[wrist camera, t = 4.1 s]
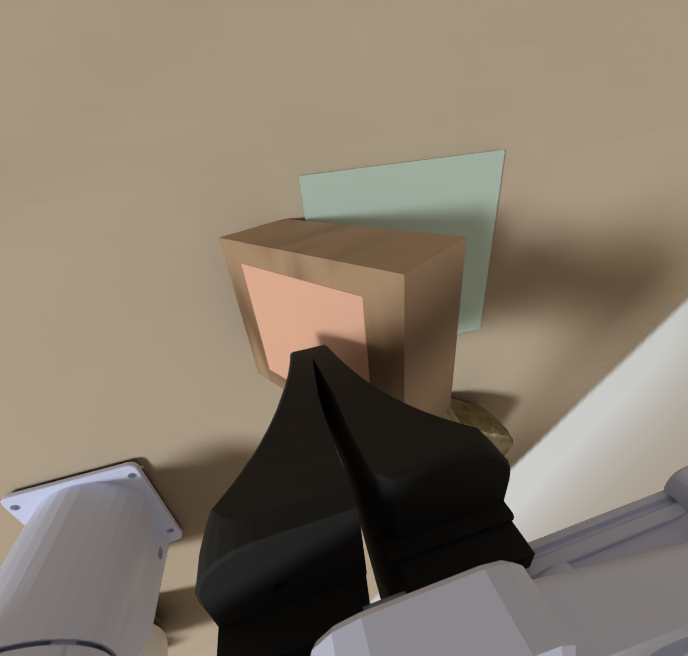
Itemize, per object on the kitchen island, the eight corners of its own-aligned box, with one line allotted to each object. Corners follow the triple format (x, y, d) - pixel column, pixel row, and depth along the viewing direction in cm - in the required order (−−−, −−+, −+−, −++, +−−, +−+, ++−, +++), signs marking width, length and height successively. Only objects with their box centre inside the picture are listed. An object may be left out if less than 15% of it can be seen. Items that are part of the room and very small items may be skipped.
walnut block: (308, 342, 21) (450, 405, 15) (258, 373, 19) (403, 464, 13) (285, 218, 17) (466, 236, 11) (217, 237, 15) (403, 275, 9)
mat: (477, 327, 24) (480, 329, 24) (326, 363, 22) (327, 365, 22) (501, 149, 18) (505, 149, 18) (298, 175, 16) (298, 175, 16)
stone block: (483, 398, 29) (523, 440, 25) (424, 483, 33) (450, 531, 29) (434, 389, 27) (469, 433, 23) (377, 481, 31) (398, 533, 27)
